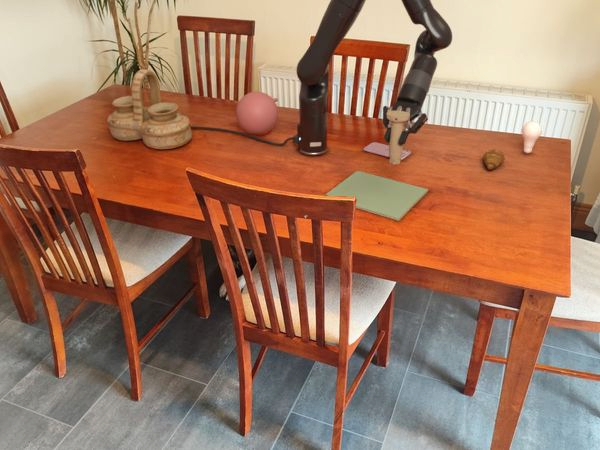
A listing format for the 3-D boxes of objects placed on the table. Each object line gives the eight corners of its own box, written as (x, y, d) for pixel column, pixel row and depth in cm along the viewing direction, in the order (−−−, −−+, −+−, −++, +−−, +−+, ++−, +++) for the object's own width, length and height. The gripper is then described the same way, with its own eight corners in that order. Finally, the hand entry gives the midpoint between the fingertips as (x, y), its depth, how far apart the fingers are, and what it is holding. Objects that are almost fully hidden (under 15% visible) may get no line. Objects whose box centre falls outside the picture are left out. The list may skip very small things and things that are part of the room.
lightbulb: (536, 150, 186) (543, 119, 180) (536, 157, 181) (544, 126, 175) (517, 148, 187) (523, 117, 182) (517, 155, 182) (523, 124, 177)
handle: (386, 158, 164) (389, 109, 156) (407, 160, 162) (411, 112, 154) (382, 164, 160) (384, 115, 152) (403, 167, 158) (407, 117, 150)
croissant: (500, 173, 171) (503, 159, 169) (478, 170, 174) (480, 155, 171) (506, 157, 182) (509, 143, 179) (485, 153, 184) (488, 140, 181)
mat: (323, 198, 160) (323, 195, 160) (357, 172, 174) (357, 170, 174) (398, 221, 148) (398, 218, 148) (428, 191, 162) (428, 189, 162)
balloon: (295, 127, 208) (294, 87, 200) (260, 144, 194) (257, 102, 186) (264, 119, 216) (262, 80, 208) (229, 135, 203) (225, 94, 195)
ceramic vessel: (98, 138, 202) (83, 71, 189) (134, 122, 216) (122, 58, 203) (169, 156, 187) (158, 84, 174) (203, 137, 201) (195, 69, 188)
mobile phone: (373, 140, 193) (412, 150, 185) (373, 143, 193) (412, 153, 185) (362, 148, 187) (401, 158, 180) (362, 150, 188) (401, 161, 180)
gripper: (388, 79, 158) (367, 132, 156) (435, 86, 151) (413, 142, 149) (395, 91, 164) (374, 143, 162) (440, 99, 158) (419, 153, 155)
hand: (393, 142), depth 156 cm, fingers closed on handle, 3 cm apart
